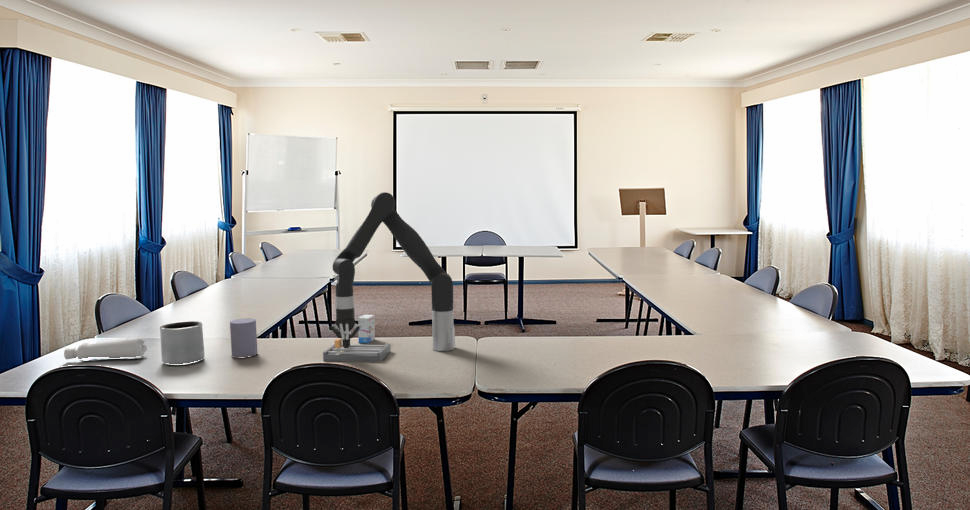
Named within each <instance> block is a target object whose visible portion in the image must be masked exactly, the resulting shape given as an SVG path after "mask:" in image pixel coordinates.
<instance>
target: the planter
mask: <svg viewBox="0 0 970 510" xmlns="http://www.w3.org/2000/svg"><path fill="white" fill-rule="evenodd" d="M159 332H160V334H159V335H160V349H161V350H160V352H161V353H160V355H161V363H162V362H164V363H169V364H183V363H190V362H194V361H198V360H201V359H203V358H204V359H205V343H204V330H203V323H202V322H201V321H198V320H197V321H196V320H185V321H174V322H169V323H165V324H162V325H161V326H160V327H159ZM204 359H203V360H204ZM201 361H202V360H201ZM164 363H163V364H164Z"/></svg>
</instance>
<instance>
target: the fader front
mask: <svg viewBox="0 0 970 510" xmlns="http://www.w3.org/2000/svg"><path fill="white" fill-rule="evenodd" d="M334 344H335V348H337V351H340V347H342V345H343V342H342V339H341V338H336V339H335V340H334Z"/></svg>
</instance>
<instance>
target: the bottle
mask: <svg viewBox="0 0 970 510" xmlns="http://www.w3.org/2000/svg"><path fill="white" fill-rule="evenodd" d="M145 341H146V340H145V339H144V338H142V337H140V336H139V337H128V338H124V339H116V340H108V341H101V342H100V341H99V342H98V341H97V342H93V343H89V342H84V343H82V344H80V345H78V347H77V348H76V347H74V348H70V347H69V348H65V349H64V350H63V352H64V353H63V356H64V359H65V360H72V359H74V358H76V357H77V358H76V359H78V360H79V359H82V358H88V357H109V358H120V357H136V356H142V355H144V354H145V353H146V352H147V351H148V350H147V349H148V346H147V343H145ZM145 355H146V354H145Z"/></svg>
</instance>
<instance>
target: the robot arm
mask: <svg viewBox="0 0 970 510" xmlns="http://www.w3.org/2000/svg"><path fill="white" fill-rule="evenodd" d="M370 207H371V209H370V211H369V212H368V214H367V216H366V217H365V219H364V221H363V222H362V223H361V225H360V226H359V227H358V229H357V230H356V231H355V233H354V234H353V236H352V237H351V239H350V240H349V242H348V244H347V245H346V246H345V248H344V249H343V250H342V251H341V252H340V253H339V254H338V255H337V256H336V258H335V259H334V261H333V263H332V270H333V273H334V274H336V275H338V281H337V282H336V283H335V303H334V304H335V305H334V306H335V322H334V324H333V325H331V326H330V328H329V329H331V331H332V332H333V333H334V334H335V336H336V337H337V339H342V345H343V347H344V348H349V347H350V345H351V339H353V338H354V337H355V336H356V335H357V334H358V331H359V329H360V328H361V326H360V325H358V324H357V322H356V321H357V320H356V319H355V316H356V314H355V299H354V282H355V281H354V280H355V274H356V268H355V263H354V262H355V260H356V259H359V258H361V256H362V255H363V253H364V252H365V250H366V249H367V246H368V245H369V243H370V242H371V240H372V239H373V237H374V236H375V233H376V231H377V230H378V228H379V227H380V225H381V224H382V223H383V224H384V225H385V226H386V228H387V229H388V230H389V231H390V233H391V234H392V237H393V238H394V239H395V240H396V242H397V243H398V244H399V246H400V247H401V249H402V250H403V252H404V253H405V255H406V256H408V258H409V260H410V259H411V261H412V262H413V263H414V264H415V265H416V266H417V267H418V268H419V269H420V270H421V271H422V272H423V274H424V275H425V276H426V278H427V280H428V281H429V283H430V285H431V288H430V289H431V320H432V321H431V322H432V324H431V326H432V330H431V331H432V332H431V333H432V350H434V351H437V352H449V351H453V350H455V348H456V336H455V335H456V334H455V333H456V331H455V328H456V327H455V325H454V283H453V282H454V281H453V278H452V276H451V275H450V274H448V272H447V271H446V270H445V269H444V268H443V267H442V266H441V265H440V264H439V263H438V261H437V260H436V258H435V257H434V255H433V253H432V252H431V250H430V249H429V247H428V246H427V244H426V243H425V241H424V239H423V238H422V237H421V236H420V234H419V233H418V232H417V230H415V228H413V227H412V226H410V224H408V223H407V222H406V221H405V220H403V218H402V217H401V216H400V214H399V213H398V211H397V210H396V208H395V207H396V199H395V197H394V195H392V194H391V193H390V192H379V193H377V194H376V195H375V196H374V197H373V199H372V200H371V203H370ZM353 328H354V330H353ZM352 330H353V331H352Z"/></svg>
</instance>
